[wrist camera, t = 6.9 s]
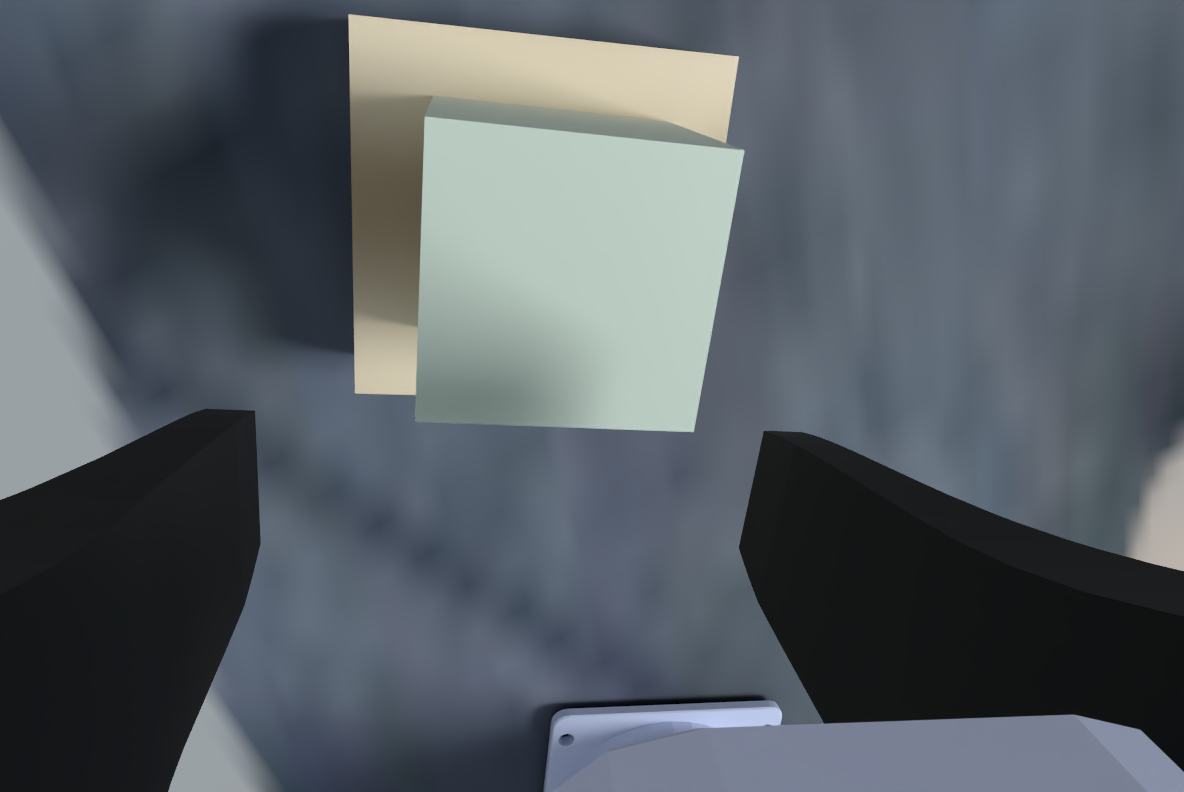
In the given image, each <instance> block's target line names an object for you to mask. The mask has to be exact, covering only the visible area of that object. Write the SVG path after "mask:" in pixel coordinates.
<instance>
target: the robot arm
mask: <svg viewBox="0 0 1184 792" xmlns="http://www.w3.org/2000/svg"><path fill="white" fill-rule="evenodd" d="M259 547H260V521H259V497H258V473H257V449H256V425H255V411H246V410H221V409H204V410H201V411H197V412H195V413H192V414H190V415H187V416H185V417H183V418H181V419H178V420H176V421H174V422H172V423H170V424H168V425H166V426H164V427H162V428H160V429H158V430H156V431H154V432H152V433H150V434H148V435H146V436H144V437H142V438H139V439H137V440H135V441H133V442H131V443H129V444H127V445H125V446H123V447H121V448H119V449H117V450H115V451H113V452H111V453H109V454H107V455H105V456H103V457H101V458H98V459H96V460H94V461H92V462H89V463H87V464H85V465H83V466H80V467H78V468H76V469H73V470H71V471H69V472H67V473H64V474H62V475H60V476H58V477H55V478H53V479H51V480H49V481H46V482H44V483H42V484H39V485H37V486H35V487H33V488H30V489H28V490H25V491H23V492H20V493H18V494H15V495H13V496H10V497H7V498H5V499H2V500H0V792H168V790H169V786H170V783H171V781H172V778H173V775H174V773H175V770H176V767H177V765H178V762H179V759H180V756H181V754H182V751H183V749H184V746H185V744H186V741H187V739H188V737H189V734H190V732H191V730H192V727H193V725H194V723H195V720H196V718H197V716H198V714H199V711H200V709H201V706H202V704H203V702H204V700H205V697H206V695H207V693H208V690H209V688H210V686H211V683H212V681H213V679H214V676H215V674H216V672H217V669H218V667H219V665H220V662H221V660H222V658H223V655H224V653H225V651H226V648H227V646H228V643H229V641H230V639H231V636H232V634H233V632H234V629H235V627H236V624H237V622H238V620H239V617H240V615H241V612H242V610H243V607H244V605H245V601H246V598H247V594H248V590H249V587H250V583H251V579H252V576H253V572H254V567H255V563H256V559H257V555H258V551H259ZM739 550H740V553H741V556H742V559H743V562H744V565H745V568H746V571H747V574H748V577H749V579H750V582H751V585H752V587H753V590H754V592H755V595H756V598H757V600H758V603H759V605H760V607H761V609H762V610H763V612H764V614H765V616H766V618H767V620H768V622H769V624H770V626H771V627H772V629H773V631H774V633H775V635H776V637H777V639H778V640H779V642H780V644H781V646H782V648H783V650H784V651H785V653H786V655H787V657H788V659H789V661H790V662H791V664H792V666H793V668H794V670H795V671H796V673H797V675H798V677H799V679H800V680H801V682H802V684H803V686H804V688H805V689H806V691H807V693H808V695H809V697H810V699H811V700H812V702H813V704H814V706H815V708H816V709H817V711H818V713H819V715H820V717H821V718H822V720H823V722H824V724H803V725H780V723H781V719H782V713H781V711H780V709H779V707H778V705H777V703H775V702H774V701H769V700H765V701H741V702H717V703H693V704H669V705H645V706H621V707H596V708H572V709H563V710H561V711H559V712H557V713H556V714H555V715H554V716H553V718H552V720H551V728H550V737H549V746H548V755H547V764H546V772H545V781H544V790H543V792H1184V571H1180V570H1176V569H1172V568H1167V567H1163V566H1159V565H1154V564H1151V563H1147V562H1143V561H1140V560H1136V559H1133V558H1129V557H1125V556H1121V555H1118V554H1114V553H1110V552H1107V551H1103V550H1099V549H1096V548H1093V547H1089V546H1086V545H1083V544H1079V543H1076V542H1073V541H1070V540H1066V539H1063V538H1060V537H1058V536H1055V535H1052V534H1049V533H1046V532H1043V531H1040V530H1037V529H1034V528H1031V527H1028V526H1026V525H1023V524H1020V523H1017V522H1014V521H1011V520H1009V519H1006V518H1003V517H1001V516H998V515H996V514H993V513H991V512H988V511H986V510H983V509H981V508H978V507H976V506H974V505H971V504H969V503H966V502H964V501H962V500H959V499H957V498H954V497H952V496H950V495H947V494H945V493H943V492H941V491H938V490H936V489H934V488H932V487H929V486H927V485H925V484H923V483H921V482H918V481H916V480H914V479H912V478H910V477H908V476H905V475H903V474H901V473H899V472H897V471H895V470H892V469H890V468H888V467H886V466H884V465H882V464H880V463H878V462H875V461H873V460H871V459H869V458H867V457H865V456H862V455H860V454H858V453H856V452H854V451H851V450H849V449H847V448H845V447H842V446H840V445H838V444H835V443H833V442H830V441H828V440H825V439H823V438H820V437H817V436H814V435H810V434H807V433H803V432H781V431H764V433H763V438H762V442H761V447H760V452H759V456H758V461H757V466H756V470H755V475H754V480H753V484H752V489H751V494H750V498H749V503H748V508H747V512H746V517H745V522H744V526H743V531H742V536H741V540H740V545H739ZM763 725H766V726H763ZM564 734H570V735H569V736H566V737H561V736H562V735H564Z"/></svg>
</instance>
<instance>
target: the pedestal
mask: <svg viewBox="0 0 1184 792" xmlns="http://www.w3.org/2000/svg"><path fill="white" fill-rule="evenodd" d="M738 59H739V57H737V56H727V55H718V54H709V53H700V52H691V51H682V50H672V49H663V48H654V47H645V46H636V45H626V44H617V43H608V42H599V41H590V40H580V39H571V38H562V37H553V36H544V35H535V34H525V33H516V32H507V31H498V30H489V29H479V28H470V27H461V26H452V25H443V24H433V23H424V22H415V21H406V20H397V19H388V18H378V17H369V16H360V15H351V14H349V71H350V129H351V187H352V244H353V302H354V360H355V393H359V394H396V395H416V372H417V341H418V310H419V278H420V247H421V216H422V185H423V153H424V122H425V114H426V112H427V110H428V107H429V105H430V102H431V100H432V97H433V96H441V97H450V98H459V99H468V100H477V101H486V102H495V103H504V104H513V105H522V106H531V107H540V108H549V109H558V110H567V111H576V112H585V113H594V114H603V115H612V116H621V117H630V118H639V119H648V120H657V121H666V122H671V123H674V124H676V125H679V126H682V127H684V128H687V129H689V130H692V131H695V132H697V133H700V134H703V135H705V136H708V137H711V138H713V139H716V140H718V141H721V142H724V143H726V138H727V132H728V125H729V118H730V112H731V105H732V99H733V92H734V85H735V79H736V72H737V66H738Z"/></svg>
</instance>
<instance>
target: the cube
mask: <svg viewBox="0 0 1184 792" xmlns="http://www.w3.org/2000/svg"><path fill="white" fill-rule="evenodd" d="M743 156H744V150H742V149H740V148H737V147H734V146H732V145H729V144H726V143H724V142H721V141H718V140H716V139H713V138H711V137H708V136H705V135H703V134H700V133H697V132H695V131H692V130H689V129H687V128H684V127H682V126H679V125H676V124H674V123H671V122H666V121H657V120H648V119H639V118H630V117H621V116H612V115H603V114H594V113H585V112H576V111H567V110H558V109H549V108H540V107H531V106H522V105H513V104H504V103H495V102H486V101H477V100H468V99H459V98H450V97H441V96H433V97H432V100H431V102H430V105H429V107H428V110H427V112H426V114H425V122H424V153H423V185H422V216H421V247H420V278H419V310H418V341H417V372H416V403H415V422H435V423H462V424H489V425H516V426H543V427H570V428H597V429H624V430H652V431H679V432H694V427H695V422H696V416H697V411H698V405H699V400H700V394H701V388H702V383H703V377H704V372H705V366H706V361H707V355H708V350H709V344H710V339H711V333H712V327H713V322H714V316H715V311H716V305H717V300H718V294H719V289H720V283H721V278H722V272H723V266H724V261H725V255H726V250H727V244H728V239H729V233H730V228H731V222H732V217H733V211H734V205H735V200H736V194H737V189H738V183H739V178H740V172H741V167H742V161H743Z"/></svg>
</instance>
